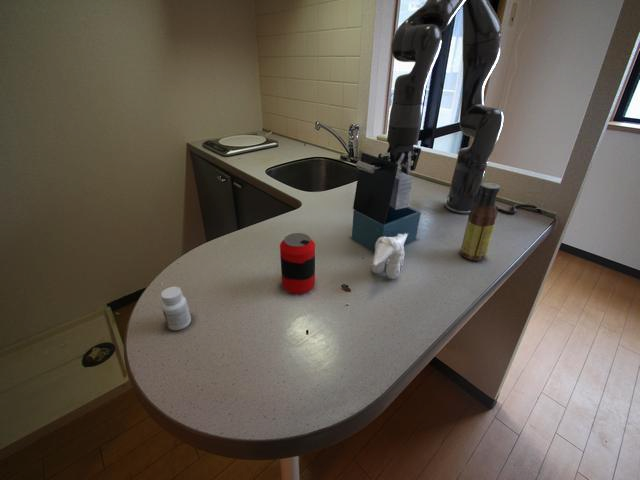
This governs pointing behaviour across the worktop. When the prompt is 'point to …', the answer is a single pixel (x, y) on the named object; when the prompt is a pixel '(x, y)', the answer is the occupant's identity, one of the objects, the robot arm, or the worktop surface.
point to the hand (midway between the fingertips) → (395, 188)
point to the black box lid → (374, 187)
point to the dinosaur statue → (389, 255)
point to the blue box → (385, 226)
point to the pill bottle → (175, 308)
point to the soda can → (297, 263)
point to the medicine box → (401, 191)
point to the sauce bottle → (480, 223)
